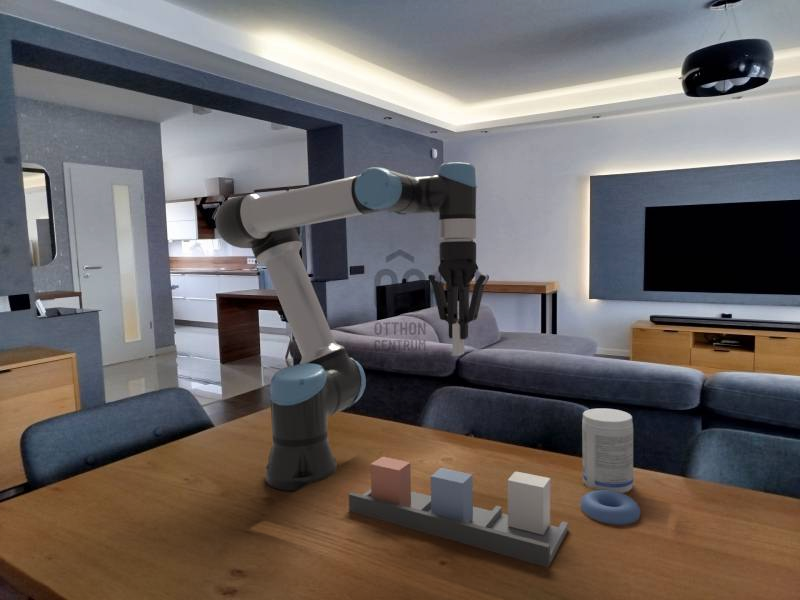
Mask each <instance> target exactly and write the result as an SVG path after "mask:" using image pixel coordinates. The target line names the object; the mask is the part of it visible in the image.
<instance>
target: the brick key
mask: <svg viewBox="0 0 800 600" xmlns="http://www.w3.org/2000/svg"><path fill="white" fill-rule="evenodd" d="M411 477H412V475H411V462H409V461H406V460H405V461H404V460H400V459H396V458H391V457H387V456H381V457H379V458H378V459H376V460H375V461H373V462H371V463H370V485H371V486H370V489H371V497H372V498H376V499H380V500H384V501H388V502H391V503H395V504H399V505H403V506H407V507H409V506H410V505H411V491H412V489H411V488H412V483H411V482H412V481H411Z"/></svg>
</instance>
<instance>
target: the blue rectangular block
mask: <svg viewBox="0 0 800 600" xmlns="http://www.w3.org/2000/svg"><path fill="white" fill-rule="evenodd" d="M473 478H474V477H473V473H467V472H462V471H458V470H453V469H449V468H444V467H440V468H439V469H437V470H436V471H435V472H434V473H433V474H432V475H430V496H431V513H433V514H437V515H441V516H445V517H449V518H452V519H456V520H460V521H464V522H468V523H470V522H471V521H472V520H473V506H474V496H473V494H474V490H473V489H474V488H473V486H474V482H473Z"/></svg>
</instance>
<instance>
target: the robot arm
mask: <svg viewBox="0 0 800 600" xmlns="http://www.w3.org/2000/svg"><path fill="white" fill-rule="evenodd" d="M477 188H478V187H477V181H476V168H475V166H474V165H473V164H472V163H468V162H459V161H458V162H457V161H456V162H455V161H454V162H447V163H442V164H441V165H439V167H438V172H437V174H434V175H430V176H429V175H428V176H427V175H426V176H411V175H408V174H404V173H399V172H396V171H393V170H391V169H388V168H385V167H369V168H366V169H365V170H363V171H362V172H361V173H360V174H359V175H355V176H354V175H353V176H349V177H346V178H341V179H336V180H332V181H326V182H323V183H319V184H313V185H310V186H309V185H308V186H305V187H300V188H296V189H295V188H294V189H291V190H287V191H281V192H278V193H273V194H269V195H268V194H267V195H265V196H260V195H258V194H256V193H251V194H246V195H241V196H234V197H232V198H231V197H230V198H228V199H227V200H225V201H224V202H223V203H222V204H221V205H220V206H219V208H218V209H217V211H216V215H215V228H216V230H217V233H218V235H219V236H220V238H222V240H224V242H226V243H227V244H228V245H231V246H232V247H235V248H240V249H251V250H252V254H253V257H254V258H255V260H256V262H257V263H259V264H261V265H263V266H265V268H266V270H267V271H266V272H267V274H268V277H269V278H270V281H271V284H272V285H273V289H274V291H275V293H276V295H277V297H278V300H279V303H280V305H281V308H282V310H283V313H284V316H285V318H286V321H287V323H288V325H289V328H290V330H291V333H292V335H293V337H294V340H295V343H296V345H297V348H298V350H299V352H300V355H301V360H300V362H299V364H298V363H297V364H295V365H290V366H285V367H283V368H281V369H279V370H277V371H276V372H275V373H273V375H272V376H271V379H270V390H269V398H270V412H271V413H270V414H271V434H272V445H271V450H270V452H269V455H268V461H267V464H266V466H265V482H266V483H267V485H268V486H270V487H272V488H274V489H276V490H281V491H289V492H290V491H292V492H293V491H295V492H296V491H298V490H300V489H302V488H304V487H305V486H307V485H309V484H312V483H317V482H320V481H322V480H326V479H327V478H329V477H331V476H332V475H333V474H335V472H336V471H337V469H338V467H337V466H338V465H337V461H336V458H335V457H334V455H333V451H332V448H331V445H330V441H329V438H328V418H330V417H331V416H333V415H335V414H337V413H340V412H341V411H344V410H346V409H349V408H350V407H352V406H353V405H354V404H355V403H357V402H358V401H359V400H360V399H361V397H362V396H363V394H364V391H365V389H366V385H367V384H366V383H367V380H366V374H365V371H364V368H363V367H362V365H361V364H360V363H359V361H358V360H355V359H354V358H352V357H349V355H348V353H347V351H346V350H347V349H346V348H345V346H343V345H340V344H338V343H337V342H336V341H335V338H334V336H333V333H332V331H331V328H330V326H329V323H328V321H327V318H326V316H325V313H324V311H323V308H322V305H321V304H320V302H319V298H318V296H317V294H316V292H315V289H314V286H313V284H312V281H311V279H310V277H309V274H308V271H307V269H306V268H305V267H306V266H305V265H304V263H303V259H302V258H301V255H300V252H301V251H300V250H301V249H302V246H303V243H302V241H301V237H302V235H303V234H302V231H303V230H304V229H303V226H309V225H314V224H319V223H324V222H329V221H334V220H340V219H345V218H351V217H355V216H360V215H367V214H374V213H379V212H380V213H381V212H387V213H389V214H391V215H403V216H405V215H410V214H412V215H414V214H426V213H438V216H439V217H438V223H439V226H438V227H439V229H438V231H439V232H438V233H439V234H438V236H439V237H438V238H439V240H442V241H440V243H439V248H438V250H439V264H438V267H437V270H436V271H435V272H434V273H432V274H431V273H430V274H429V275H428V276H427V279H428V280H429V282H430V284H431V286H432V289H433V293H434V294H433V295H434V298H435V302H436V307H437V311H438V315H439V319H440V320H441V321H444V322H446V323H448V338H449V339H451V340H452V356H458V357H459V356H460V357H461V356H462V355H465V340H467V339H468V338H469V323H471V322H473V321H477V319H478V315H479V313H480V312H479V311H480V307H481V302H482V298H483V293H484V289H485V287H486V286H485V285H486V284H487V282H488V281H489V280H490V276H489V274H484V273H483V272H481V270H479V266H478V265H477V242H475V241H474V240H475V239H476V238H477ZM442 280H443V281H444V282H445V283H446V285H445V286H446V287H445V288H444V285H443V282H442ZM473 280H474V282H475V283H474V286H473V290H472V295H471V300H470V287H471V285H470V284H471V282H472V281H473ZM445 289H446V291H447V294H446V292H445ZM446 295H447V296H446Z"/></svg>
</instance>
